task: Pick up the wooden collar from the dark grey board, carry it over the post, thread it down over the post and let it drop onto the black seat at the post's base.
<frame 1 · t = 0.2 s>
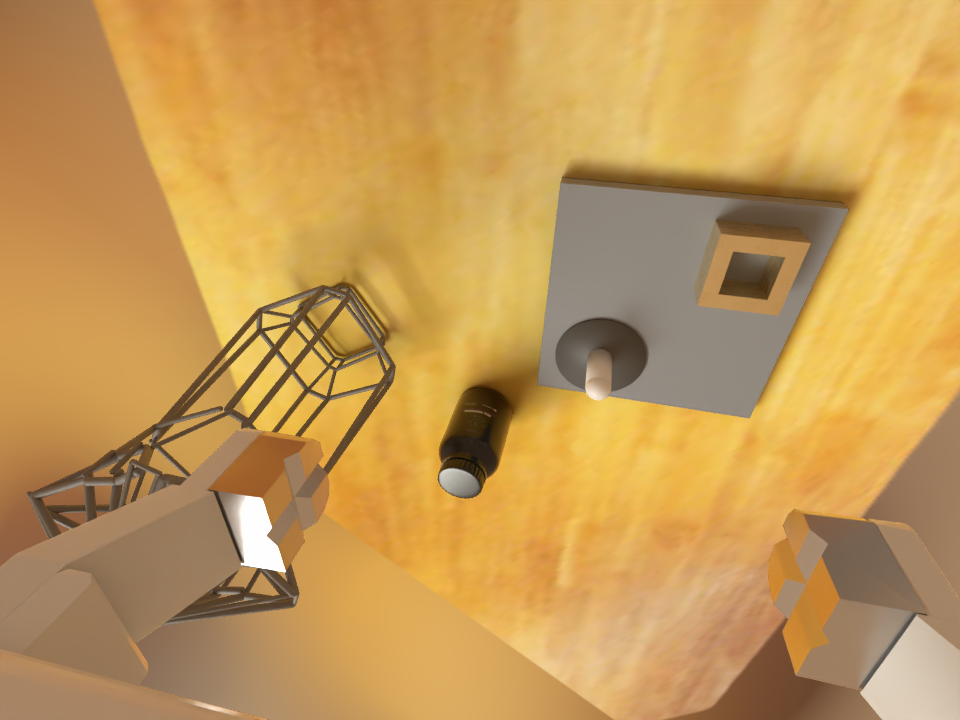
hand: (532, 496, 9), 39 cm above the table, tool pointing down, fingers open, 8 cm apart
supplement bottle: (485, 406, 61), on the table
geometric lantern: (344, 325, 58), on the table
wooden collar: (743, 260, 42), point 1 cm above the table, touching post board
post board: (663, 304, 48), on the table
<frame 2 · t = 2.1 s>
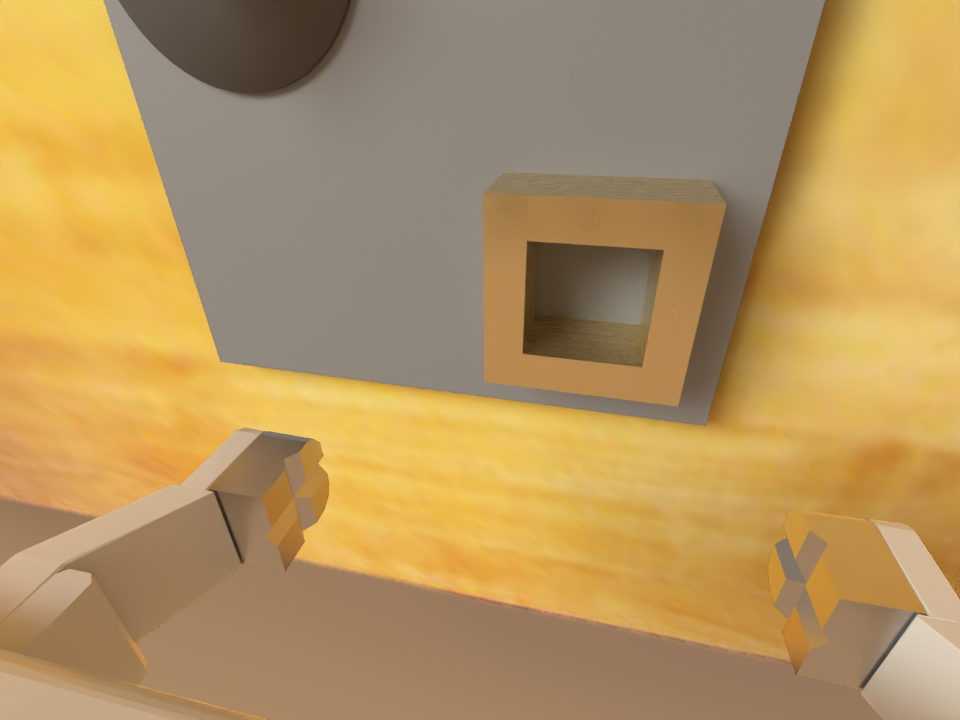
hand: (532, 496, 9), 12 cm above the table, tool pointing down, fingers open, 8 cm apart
wooden collar: (591, 271, 18), point 1 cm above the table, touching post board
post board: (434, 107, 18), on the table
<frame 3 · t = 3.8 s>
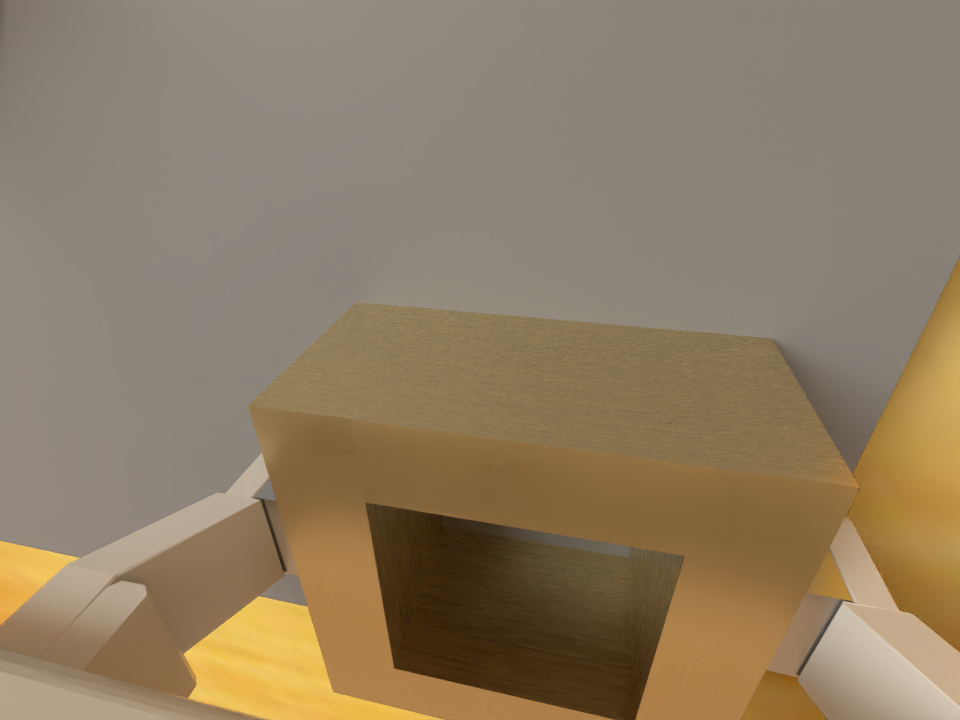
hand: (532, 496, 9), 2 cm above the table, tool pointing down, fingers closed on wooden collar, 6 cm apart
wooden collar: (537, 472, 9), point 1 cm above the table, touching gripper, post board
post board: (234, 167, 9), on the table
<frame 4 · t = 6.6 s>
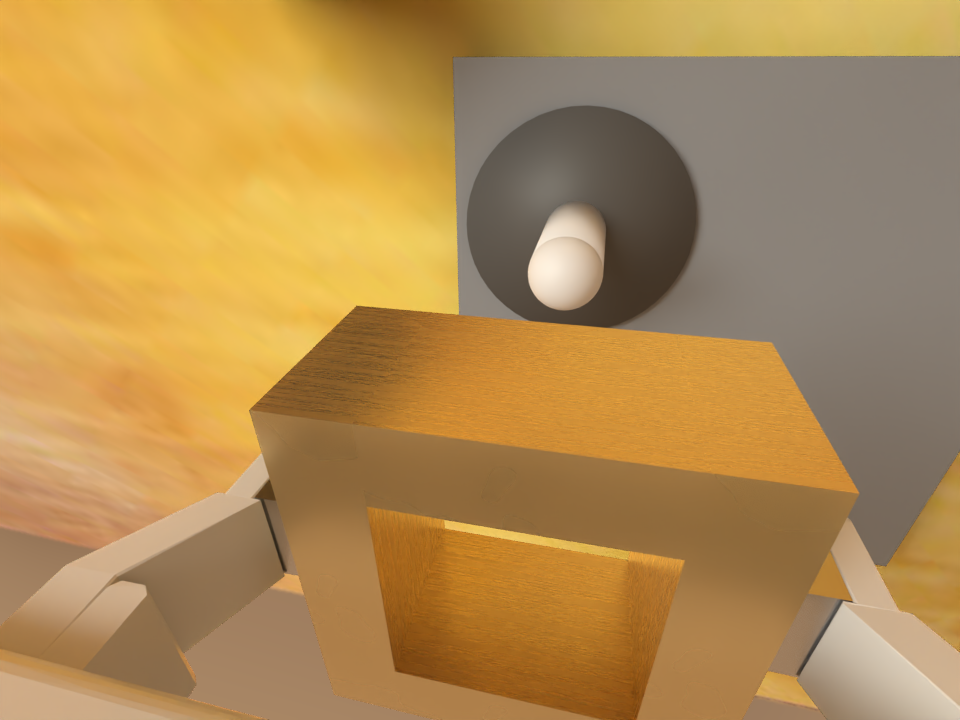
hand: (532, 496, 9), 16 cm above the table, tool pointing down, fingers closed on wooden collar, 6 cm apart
wooden collar: (537, 475, 9), point 15 cm above the table, touching gripper
post board: (699, 336, 23), on the table
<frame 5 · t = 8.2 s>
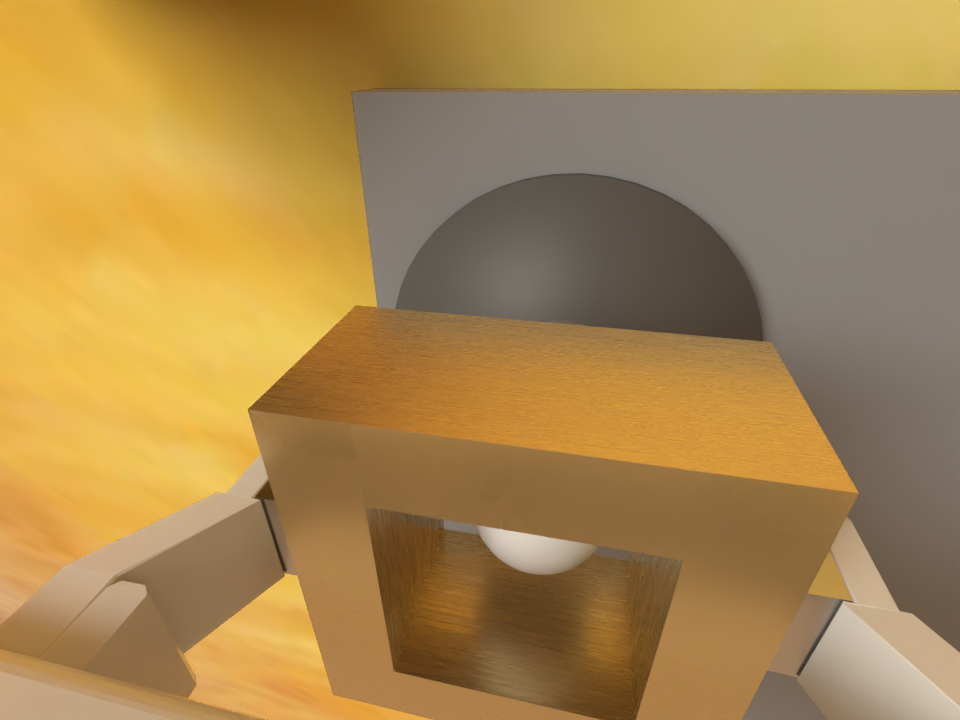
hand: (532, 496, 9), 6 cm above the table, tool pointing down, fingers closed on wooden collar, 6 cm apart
wooden collar: (537, 475, 9), point 6 cm above the table, touching gripper
post board: (750, 493, 16), on the table
when the fingers open (5 cm above the table, at t = 9.4 s): wooden collar drops 2 cm, resting on post board.
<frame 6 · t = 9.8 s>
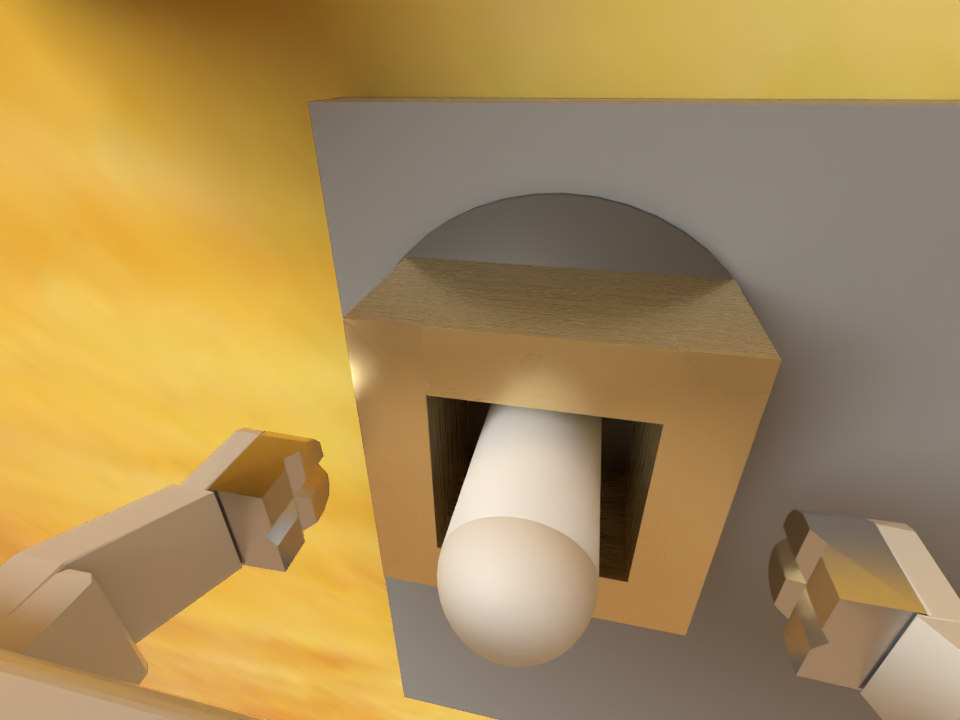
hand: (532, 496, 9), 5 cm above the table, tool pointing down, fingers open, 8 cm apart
wooden collar: (549, 400, 12), point 2 cm above the table, touching post board
post board: (753, 530, 14), on the table
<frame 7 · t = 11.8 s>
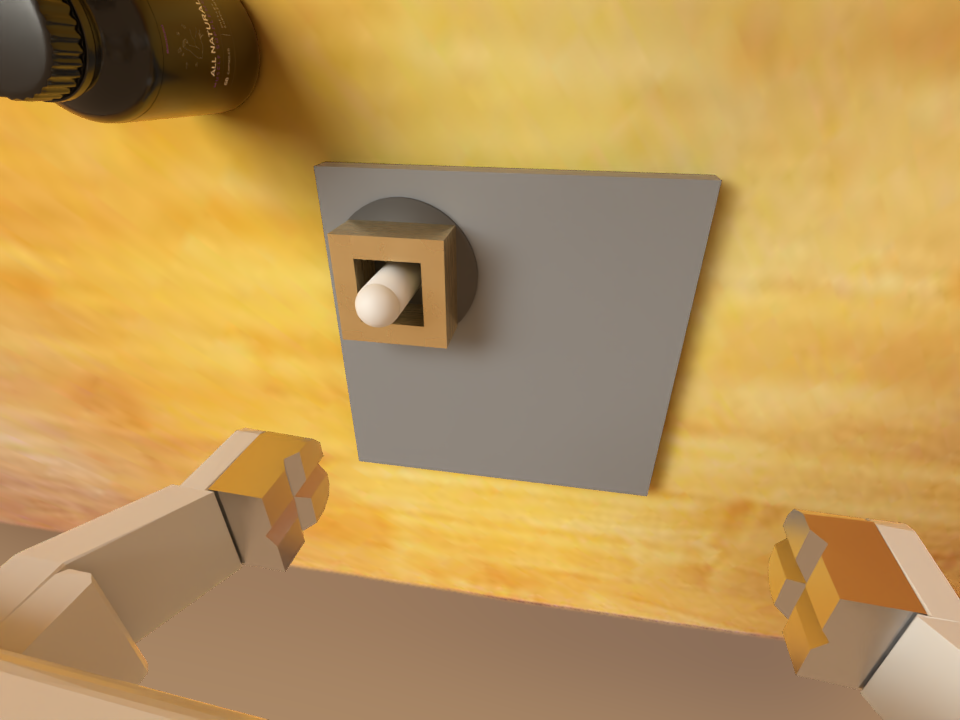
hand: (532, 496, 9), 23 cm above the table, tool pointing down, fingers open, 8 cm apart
supplement bottle: (208, 42, 28), on the table
wooden collar: (405, 274, 31), point 2 cm above the table, touching post board
post board: (503, 340, 34), on the table
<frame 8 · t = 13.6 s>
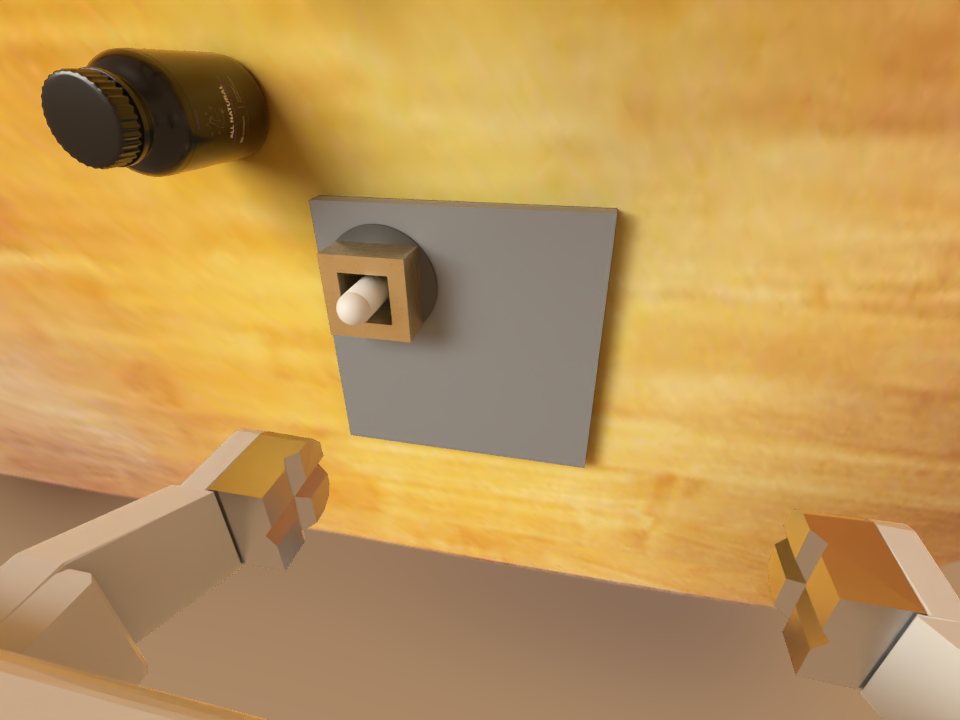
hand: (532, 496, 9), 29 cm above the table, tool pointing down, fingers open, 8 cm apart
supplement bottle: (230, 106, 36), on the table
wooden collar: (380, 283, 39), point 2 cm above the table, touching post board
post board: (463, 336, 42), on the table
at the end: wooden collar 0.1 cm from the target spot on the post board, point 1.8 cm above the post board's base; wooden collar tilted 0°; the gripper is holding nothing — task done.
